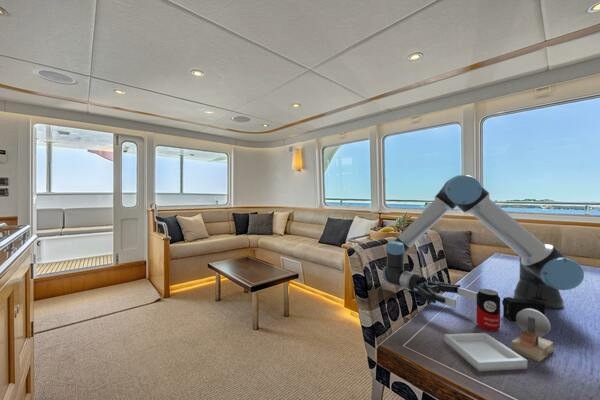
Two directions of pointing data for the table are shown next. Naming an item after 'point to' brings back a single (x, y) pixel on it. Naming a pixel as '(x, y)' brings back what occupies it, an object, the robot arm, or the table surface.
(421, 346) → the table surface
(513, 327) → the table surface
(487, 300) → the beverage can
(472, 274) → the table surface
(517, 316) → the pulley stand
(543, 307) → the digital camera
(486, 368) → the tray
